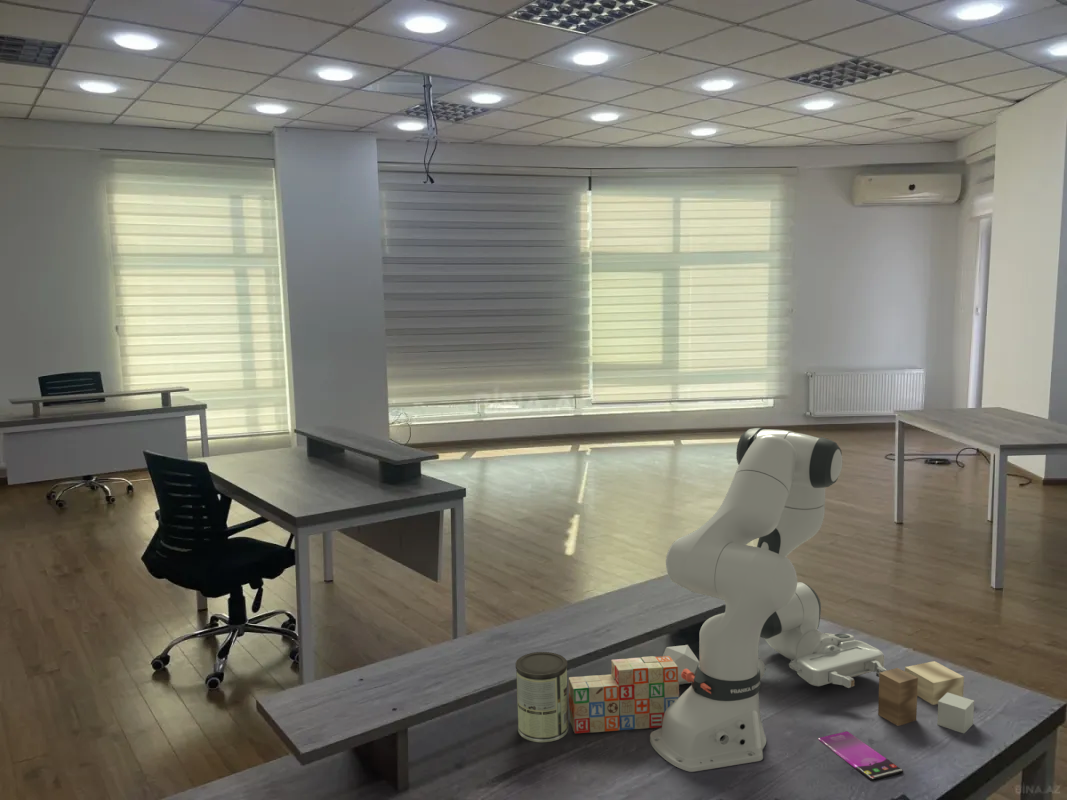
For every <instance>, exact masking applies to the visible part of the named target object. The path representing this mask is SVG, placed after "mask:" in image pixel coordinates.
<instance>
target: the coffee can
mask: <svg viewBox="0 0 1067 800" xmlns="http://www.w3.org/2000/svg"><path fill="white" fill-rule="evenodd" d="M567 668H568V660H567V659H566V658H565V657H564V656H563V655H561V654H558V653H556V652H550V651H536V652H529V653H526V654H525V655H522V656H520V657H519V658H517V659H516V662H515V670H516V696H517V697H516V698H517V702H516V703H517V731H518V732H517V733H518V734H519V735H520V736H521V738H523V739H524V740H527V741H529V742H534V743H550V742H551V743H552V742H555V741H558V740H560V739H562V738H564V737H565V736H566V735H567V734H568V732H569V727H570V726H569V712H568V711H569V708H568V707H569V701H568V673H567V672H568V670H567Z"/></svg>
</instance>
